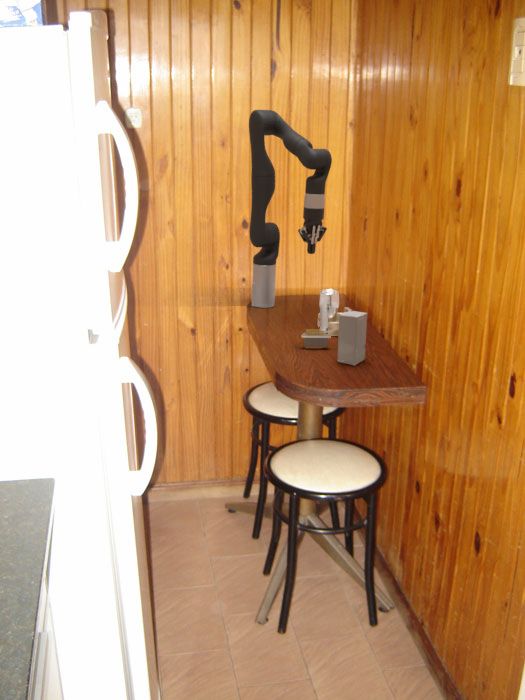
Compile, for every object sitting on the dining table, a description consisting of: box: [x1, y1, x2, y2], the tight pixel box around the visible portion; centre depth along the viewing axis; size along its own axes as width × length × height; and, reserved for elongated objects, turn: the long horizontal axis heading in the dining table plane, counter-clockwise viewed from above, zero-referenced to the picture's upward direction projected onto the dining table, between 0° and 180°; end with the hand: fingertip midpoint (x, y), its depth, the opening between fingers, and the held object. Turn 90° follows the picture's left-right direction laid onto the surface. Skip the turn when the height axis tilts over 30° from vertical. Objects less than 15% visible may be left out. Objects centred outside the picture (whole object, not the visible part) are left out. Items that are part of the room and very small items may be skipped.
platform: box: [301, 328, 332, 348], centre depth 246 cm, size 12×18×7 cm, turn 94°
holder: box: [317, 306, 353, 336], centre depth 265 cm, size 12×13×7 cm
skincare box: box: [337, 310, 368, 367], centre depth 232 cm, size 8×7×16 cm
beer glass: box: [318, 288, 340, 333], centre depth 262 cm, size 7×7×15 cm
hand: (311, 253), depth 269 cm, fingers closed
